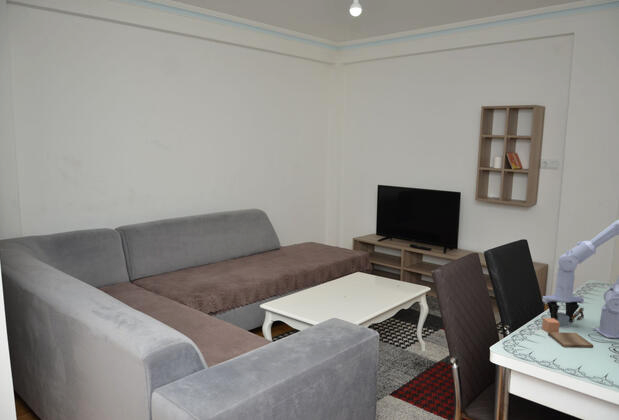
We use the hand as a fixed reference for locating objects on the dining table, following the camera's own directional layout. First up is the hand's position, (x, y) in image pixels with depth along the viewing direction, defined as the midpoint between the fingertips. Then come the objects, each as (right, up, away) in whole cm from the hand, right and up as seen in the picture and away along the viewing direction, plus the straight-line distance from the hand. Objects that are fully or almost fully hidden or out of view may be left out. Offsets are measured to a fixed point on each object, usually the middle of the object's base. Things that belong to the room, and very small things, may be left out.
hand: (560, 320), depth 176 cm
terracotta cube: (-7, -2, -6) cm, 9 cm away
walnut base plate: (-5, -4, -15) cm, 16 cm away
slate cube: (0, -2, 0) cm, 2 cm away
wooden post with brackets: (+9, -1, +5) cm, 10 cm away
